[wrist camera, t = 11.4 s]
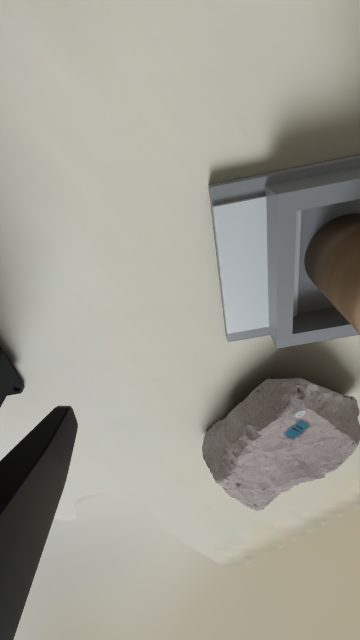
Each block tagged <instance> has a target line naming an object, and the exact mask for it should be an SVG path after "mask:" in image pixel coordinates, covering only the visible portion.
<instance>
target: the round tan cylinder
mask: <svg viewBox="0 0 360 640" xmlns="http://www.w3.org/2000/svg"><path fill="white" fill-rule="evenodd" d="M304 265H305V270H306V273H307V275H308V277H309V278H310V280H311V281H312V282H313V283H314V284H315V285H316V286H317V287H318V289H319V290H320V291H321V292H322V293H323V294H324V295H325V296H326V297H327V299H328V300H329V301H330V302H331V303H332V304H333V305H334V306H335V307H336V309H337V310H338V311H339V312H340V313H341V314H342V315H343V316H344V317H345V319H346V320H347V321H348V322H349V323H350V324H351V325H352V326H353V327H354V329H355V330H356V331H357V332H358V333H359V334H360V213H352V214H346V215H343V216H340V217H337V218H335V219H333V220H331V221H330V222H328V223H327V224H325V225H324V226H323V227H322V228H321V229H320V230H319V231H318V232H317V233H316V234H315V235H314V237H313V238H312V239H311V241H310V243H309V245H308V247H307V250H306V253H305V258H304Z"/></svg>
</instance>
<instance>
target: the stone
mask: <svg viewBox="0 0 360 640" xmlns="http://www.w3.org/2000/svg"><path fill="white" fill-rule="evenodd" d="M358 415H359V408H358V405H357V400H356V399H355V398H354V397H349V396H342V395H341V394H339V393H337V392H334V391H331V390H329V389H327V388H324V387H321V386H319V385H317V384H313V383H311V382H309V381H307V380H305V379H303V378H294V379H292V378H290V379H266V380H265V381H264V382H263V383H261V384H260V385H259V386H258V387H256V388H255V389H254V390H253V391H252V392H251V393H250V394H249V396H248V397H247V398H246V399H245V400H244V401H243V402H241V403H239V404H238V405H237V406H236V407H235V408H234V409H233V410H232V411H231V412H229V414H228V415H227V417H226V418H224V419H223V420H219V421H217V423H214V424H213V425H212V427H211V428H210V429H209V430H208V431H207V432H206V434H205V437H204V441H203V446H202V451H203V458H204V460H205V462H206V464H207V466H208V468H209V469H210V472H211V474H213V478H214V479H215V481H216V483H218V484H219V485H221V486H222V487H223V489H224V490H225V492H226V493H228V494H229V495H230V496H231V497H233V498H235V499H236V500H238V501H240V502H241V503H242V504H244V505H245V506H247V507H250V508H251V509H254V510H256V511H258V510H262V509H264V508H265V507H266V506H267V505H268V504H269V503H270V502H271V501H272V500H273V499H274V498H276V497H277V496H278V495H279V494H280V493H282V492H285V491H288V490H289V489H291V488H292V487H293V486H294V485H298V484H299V483H302V482H307V481H313V480H315V479H320V478H323V477H324V476H325V474H326V473H328V472H333V471H335V470H336V469H337V468H338V467H339V466H340V465H341V464H342V463H343V462H344V461H345V460H346V459H347V458H348V457H349V456H351V455H352V453H353V452H354V451H355V449H356V448H357V446H358V444H359V441H360V425H359V422H358V418H357V417H358Z"/></svg>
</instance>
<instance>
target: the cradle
mask: <svg viewBox="0 0 360 640" xmlns="http://www.w3.org/2000/svg"><path fill="white" fill-rule="evenodd" d="M208 186H209V194H210V203H211V211H212V220H213V229H214V237H215V246H216V254H217V263H218V272H219V280H220V289H221V297H222V306H223V315H224V323H225V332H226V338H227V341H228V342H231V341H237V340H243V339H249V338H255V337H261V336H266V335H271V337H272V339H273V341H274V343H275V345H276V347H277V349H278V348H284V347H290V346H296V345H301V344H307V343H313V342H319V341H325V340H331V339H337V338H343V337H349V336H355V335H360V334H359V333H358V332H357V331H356V330H355V329H354V327H353V326H352V325H351V324H350V323H349V322H348V321H347V320H346V319H345V317H344V316H343V315H342V314H341V313H340V312H339V311H338V310H337V309H336V307H335V306H334V305H333V304H332V303H331V302H330V301H329V300H328V299H327V297H326V296H325V295H324V294H323V293H322V292H321V291H320V290H319V289H318V287H317V286H316V285H315V284H314V283H313V282H312V281H311V280H310V278H309V277H308V275H307V273H306V270H305V265H304V258H305V253H306V250H307V247H308V245H309V243H310V241H311V239H312V238H313V237H314V235H315V234H316V233H317V232H318V231H319V230H320V229H321V228H322V227H323V226H324V225H325V224H327V223H328V222H330V221H331V220H333V219H335V218H337V217H340V216H343V215H346V214H352V213H360V155H355V156H350V157H345V158H340V159H335V160H330V161H325V162H320V163H315V164H310V165H305V166H300V167H295V168H290V169H285V170H280V171H275V172H270V173H265V174H260V175H255V176H250V177H245V178H240V179H235V180H230V181H225V182H220V183H215V184H210V185H208Z"/></svg>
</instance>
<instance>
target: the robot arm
mask: <svg viewBox="0 0 360 640" xmlns="http://www.w3.org/2000/svg"><path fill="white" fill-rule="evenodd" d="M17 387H18V388H17ZM24 387H25V386H24V384H23V382H22V381H21V379H20V378H19V376H18V374H17V373H16V371H15V370H14V368H13V367H12V365H11V363H10V362H9V360H8V359H7V357H6V356H5V354H4V353H3V351H2V349H1V348H0V407H1V405H2V403H3V401H4V400H5V398H6V396H7V395H13V394H19V393H21V392H22V391H23V389H24ZM77 428H78V424H77V420H76V417H75V414H74V411H73V409H72V407H71V406H57V407H56V408H54V409H53V410H52V411H51V412H50V413H49V414H48V415H47V416H46V417H45V418H44V419H43V420H42V421H41V422H40V423H39V424H38V425H37V426H36V427H35V428H34V429H33V430H32V431H31V432H30V433H29V434H28V435H27V436H26V437H25V438H24V439H23V440H21V441H20V442H19V443H18V444H17V445H16V446H15V447H14V448H13V449H12V450H11V451H10V452H9V453H8V454H7V455H6V456H5V457H4V458H3V459H2V460H1V461H0V640H13V639H14V636H15V633H16V630H17V627H18V624H19V621H20V618H21V615H22V612H23V609H24V606H25V602H26V599H27V597H28V594H29V591H30V588H31V585H32V582H33V579H34V576H35V572H36V570H37V567H38V564H39V561H40V558H41V555H42V552H43V549H44V546H45V543H46V539H47V537H48V534H49V530H50V528H51V524H52V522H53V519H54V516H55V513H56V510H57V507H58V504H59V501H60V498H61V495H62V492H63V489H64V485H65V482H66V478H67V474H68V470H69V465H70V461H71V456H72V452H73V447H74V443H75V438H76V433H77Z"/></svg>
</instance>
